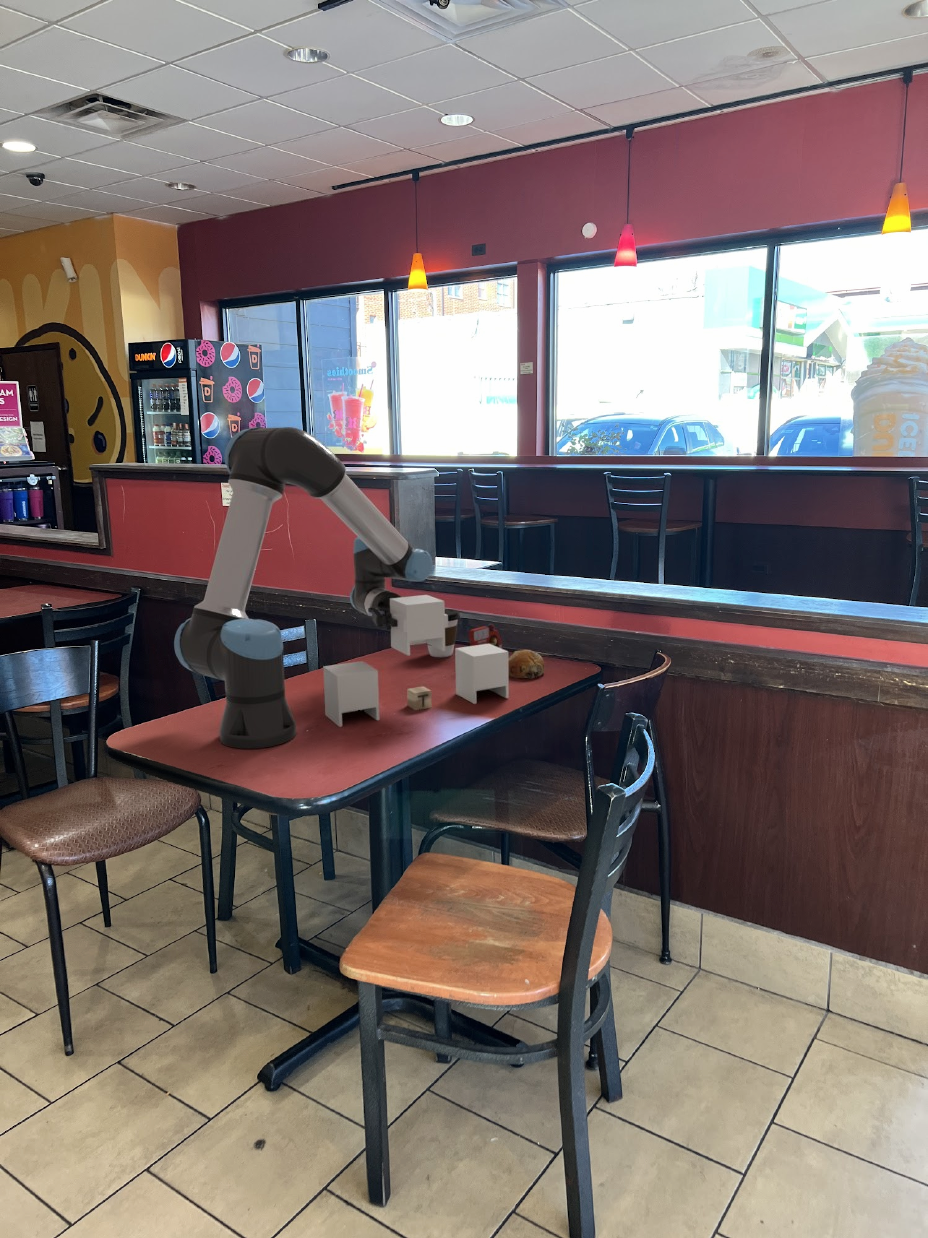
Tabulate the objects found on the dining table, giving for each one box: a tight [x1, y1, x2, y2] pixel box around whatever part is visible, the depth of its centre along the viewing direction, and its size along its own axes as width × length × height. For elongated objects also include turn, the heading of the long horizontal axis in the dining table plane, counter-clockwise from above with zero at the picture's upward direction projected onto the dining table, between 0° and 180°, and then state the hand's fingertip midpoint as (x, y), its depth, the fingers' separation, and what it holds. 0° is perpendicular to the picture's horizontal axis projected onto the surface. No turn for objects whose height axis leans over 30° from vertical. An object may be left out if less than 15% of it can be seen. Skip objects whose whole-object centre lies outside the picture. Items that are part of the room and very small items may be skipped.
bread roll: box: [508, 649, 546, 679], centre depth 224 cm, size 10×10×8 cm
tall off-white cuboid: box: [390, 594, 446, 656], centre depth 195 cm, size 9×9×11 cm
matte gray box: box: [454, 644, 510, 705], centre depth 205 cm, size 9×9×11 cm
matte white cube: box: [322, 660, 380, 728], centre depth 191 cm, size 9×9×11 cm
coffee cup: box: [426, 608, 461, 658], centre depth 244 cm, size 11×11×12 cm
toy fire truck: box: [468, 623, 505, 650], centre depth 234 cm, size 7×12×10 cm, turn 140°
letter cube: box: [406, 686, 432, 711], centre depth 199 cm, size 4×4×4 cm
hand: (426, 623), depth 191 cm, fingers closed on tall off-white cuboid, 9 cm apart
